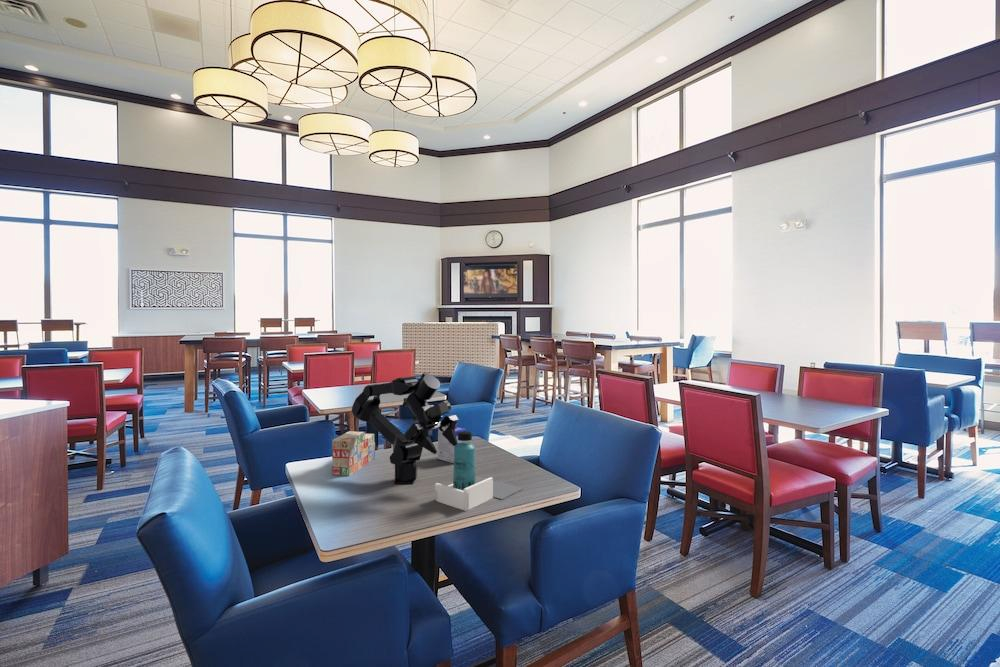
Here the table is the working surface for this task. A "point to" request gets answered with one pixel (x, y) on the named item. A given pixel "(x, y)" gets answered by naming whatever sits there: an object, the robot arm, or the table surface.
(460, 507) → the open-sided box
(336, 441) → the stack of blocks
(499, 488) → the mat
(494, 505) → the table surface
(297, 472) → the table surface
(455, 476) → the beverage bottle
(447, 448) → the ink cartridge box
